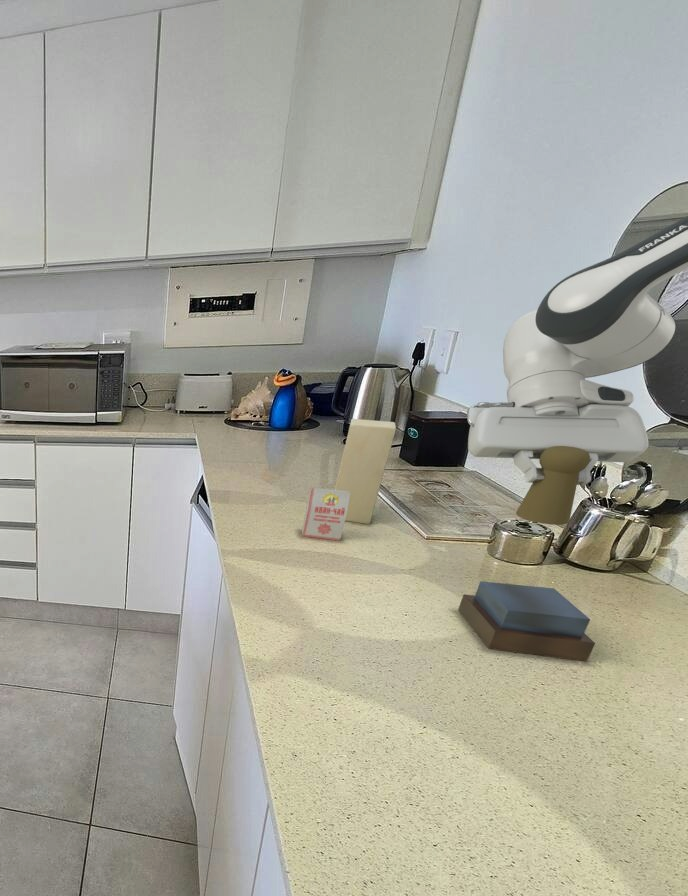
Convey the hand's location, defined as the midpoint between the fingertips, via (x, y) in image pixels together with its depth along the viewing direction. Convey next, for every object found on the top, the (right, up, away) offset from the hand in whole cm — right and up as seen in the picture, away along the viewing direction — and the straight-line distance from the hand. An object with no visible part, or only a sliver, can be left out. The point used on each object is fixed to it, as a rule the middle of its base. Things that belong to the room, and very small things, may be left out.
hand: (558, 482), depth 86 cm
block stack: (-6, -23, 0) cm, 24 cm away
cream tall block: (-3, -3, +43) cm, 43 cm away
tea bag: (-15, -8, +34) cm, 38 cm away
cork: (0, -5, +3) cm, 6 cm away
